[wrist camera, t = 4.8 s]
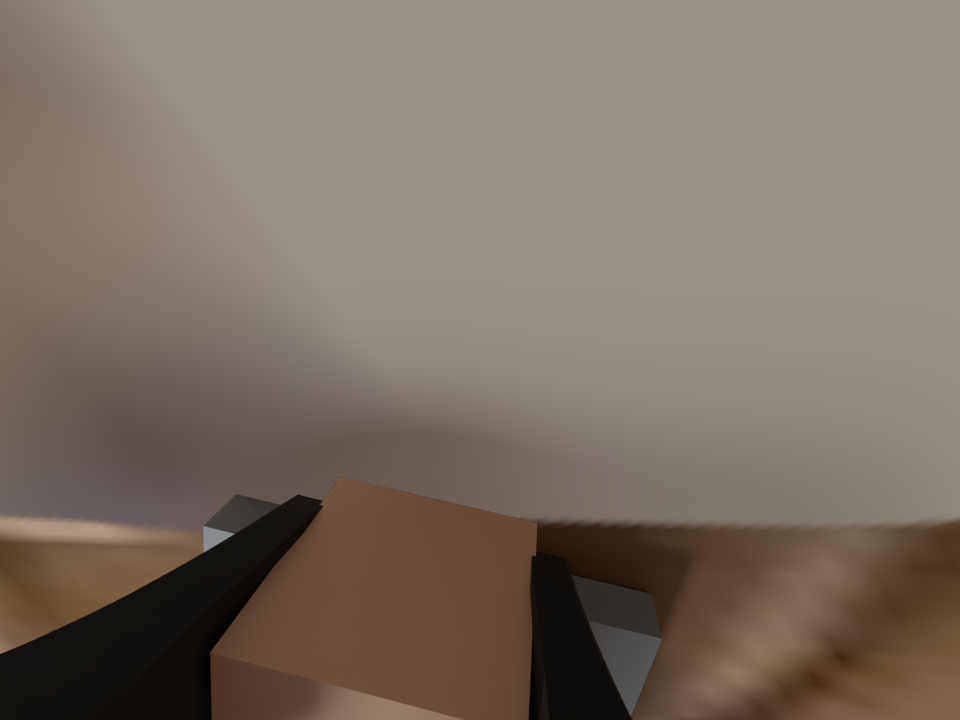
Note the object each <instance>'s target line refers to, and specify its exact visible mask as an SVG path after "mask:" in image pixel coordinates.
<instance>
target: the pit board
mask: <svg viewBox="0 0 960 720" xmlns="http://www.w3.org/2000/svg"><path fill="white" fill-rule="evenodd" d="M279 506H280V505H278V504H274V503H270V502H266V501H261V500H257V499H253V498H249V497H245V496H241V495H235V496H234V497H233V498H232V499H231V500H230V501H229V502H228V503H227V504H226V505H225V506H224V507H223V508H222V509H221V510H220V511H219V512H217V513H216V514H215V515H214V516H213V517H212V518H211V519H210V520H209V521H208V522H207V523H206V524H205V525H204V526H203V533H204V552H205V551H207V550H209V549H210V548H212V547H214V546H215V545H217V544H219V543H220V542H222V541H224V540H225V539H227V538H229V537H230V536H232V535H234V534H235V533H237V532H238V531H240V530H242V529H243V528H245V527H246V526H248V525H250V524H251V523H253V522H254V521H256V520H258V519H259V518H261V517H262V516H264V515H266V514H267V513H269V512H270V511H272V510H274V509H275V508H277V507H279ZM572 578H573V581H574V584H575V587H576V590H577V592H578V595H579V598H580V601H581V604H582V606H583V609H584V611H585V614H586V617H587V619H588V622H589V624H590V627H591V629H592V632H593V634H594V637H595V639H596V642H597V644H598V646H599V648H600V651H601V653H602V655H603V658H604V660H605V662H606V664H607V667H608V669H609V671H610V674H611V676H612V678H613V680H614V682H615V685H616V687H617V689H618V691H619V693H620V695H621V697H622V699H623V702H624V704H625V706H626V708H627V710H628V712H629V714H630V716H631V715H632V713H633V710H634V708H635V705H636V703H637V701H638V698H639V696H640V693H641V691H642V688H643V686H644V683H645V681H646V678H647V676H648V673H649V671H650V669H651V666H652V664H653V661H654V659H655V656H656V654H657V651H658V649H659V646H660V644H661V641H662V635H661V631H660V627H659V623H658V619H657V615H656V611H655V606H654V602H653V598H652V594H650V593H646V592H641V591H637V590H633V589H629V588H625V587H621V586H616V585H612V584H608V583H604V582H600V581H596V580H591V579H587V578H583V577H579V576H575V575H572Z"/></svg>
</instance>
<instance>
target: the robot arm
mask: <svg viewBox="0 0 960 720" xmlns="http://www.w3.org/2000/svg"><path fill="white" fill-rule="evenodd" d="M321 502H322V501H321V500H318V499H313V498H309V497H305V496H301V495H297V496H295V497H294V498H292V499H290V500H289V501H287V502H285V503H283V504H282V505H280V506H279V507H277V508H275V509H274V510H272V511H270V512H269V513H267V514H266V515H264V516H262V517H261V518H259V519H258V520H256V521H254V522H253V523H251V524H250V525H248V526H246V527H245V528H243V529H242V530H240V531H238V532H237V533H235V534H234V535H232V536H230V537H229V538H227V539H225V540H224V541H222V542H220V543H219V544H217V545H215V546H214V547H212V548H210V549H209V550H207V551H205V552H204V553H202V554H200V555H199V556H197V557H195V558H194V559H192V560H190V561H188V562H187V563H185V564H183V565H181V566H180V567H178V568H176V569H174V570H172V571H171V572H169V573H167V574H165V575H163V576H161V577H160V578H158V579H156V580H154V581H152V582H151V583H149V584H147V585H145V586H143V587H141V588H140V589H138V590H136V591H134V592H132V593H131V594H129V595H127V596H125V597H123V598H121V599H119V600H117V601H115V602H113V603H111V604H109V605H107V606H105V607H103V608H101V609H99V610H97V611H95V612H93V613H91V614H89V615H87V616H85V617H82V618H80V619H78V620H76V621H74V622H72V623H70V624H67V625H65V626H63V627H61V628H59V629H57V630H55V631H52V632H50V633H48V634H46V635H44V636H42V637H39V638H37V639H35V640H33V641H30V642H28V643H26V644H24V645H21V646H19V647H16V648H14V649H11V650H9V651H7V652H4V653H2V654H0V720H212V704H211V662H210V652H211V651H212V649H213V648H214V647H215V645H216V644H217V643H218V641H219V640H220V639H221V637H222V636H223V635H224V633H225V632H226V631H227V629H228V628H229V627H230V625H231V624H232V622H233V621H234V620H235V618H236V617H237V616H238V614H239V613H240V612H241V610H242V609H243V608H244V606H245V605H246V604H247V602H248V601H249V600H250V598H251V597H252V595H253V594H254V593H255V591H256V590H257V589H258V587H259V586H260V585H261V583H262V582H263V581H264V579H265V578H266V577H267V575H268V574H269V573H270V571H271V570H272V568H273V567H274V566H275V565H276V564H277V563H278V562H279V560H280V559H281V558H282V557H283V556H284V555H285V554H286V553H287V551H288V550H289V549H290V548H291V547H292V546H293V545H294V544H295V542H296V541H297V540H298V539H299V538H300V537H301V536H302V534H303V533H304V532H305V530H306V529H307V528H308V526H309V525H310V523H311V522H312V521H313V519H314V518H315V517H316V515H317V514H318V512H319V511H320V510H321V508H322V507H323V505H320V504H321ZM530 598H531V615H532V653H531V675H530V698H529V720H632V718H631V716H630V714H629V712H628V710H627V708H626V706H625V704H624V702H623V699H622V697H621V695H620V693H619V691H618V689H617V687H616V685H615V682H614V680H613V678H612V676H611V674H610V671H609V669H608V667H607V664H606V662H605V660H604V658H603V655H602V653H601V651H600V648H599V646H598V644H597V642H596V639H595V637H594V634H593V632H592V629H591V627H590V624H589V622H588V619H587V617H586V614H585V611H584V609H583V606H582V604H581V601H580V598H579V595H578V592H577V590H576V587H575V584H574V581H573V578H572V575H571V571H570V568H569V565H568V563H567V562H566V560H565V559H564V558H562V557H558V556H553V555H549V554H545V553H541V552H536V556H533V555H532V563H531V581H530Z"/></svg>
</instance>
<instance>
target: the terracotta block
mask: <svg viewBox="0 0 960 720" xmlns="http://www.w3.org/2000/svg"><path fill="white" fill-rule="evenodd" d="M320 505H323V507H322V508H321V510H320V511H319V512H318V514H317V515H316V517H315V518H314V519H313V521H312V522H311V523H310V525H309V526H308V528H307V529H306V530H305V532H304V533H303V534H302V536H301V537H300V538H299V539H298V540H297V541H296V542H295V544H294V545H293V546H292V547H291V548H290V549H289V550H288V551H287V553H286V554H285V555H284V556H283V557H282V558H281V559H280V560H279V562H278V563H277V564H276V565H275V566H274V567H273V568H272V570H271V571H270V573H269V574H268V575H267V577H266V578H265V579H264V581H263V582H262V583H261V585H260V586H259V587H258V589H257V590H256V591H255V593H254V594H253V595H252V597H251V598H250V600H249V601H248V602H247V604H246V605H245V606H244V608H243V609H242V610H241V612H240V613H239V614H238V616H237V617H236V618H235V620H234V621H233V622H232V624H231V625H230V627H229V628H228V629H227V631H226V632H225V633H224V635H223V636H222V637H221V639H220V640H219V641H218V643H217V644H216V645H215V647H214V648H213V649H212V651H211V652H210V662H211V704H212V720H529V698H530V675H531V653H532V615H531V598H530V581H531V563H532V555H533V556H536V542H537V523H535V522H531V521H527V520H523V519H518V518H514V517H510V516H505V515H501V514H497V513H492V512H488V511H484V510H480V509H475V508H471V507H466V506H462V505H458V504H454V503H450V502H445V501H441V500H437V499H432V498H428V497H424V496H419V495H415V494H411V493H407V492H402V491H398V490H394V489H390V488H385V487H381V486H377V485H372V484H368V483H364V482H360V481H355V480H351V479H346V478H342V477H340V478H339V479H338V481H337V482H336V484H335V485H334V486H333V487H332V489H331V490H330V492H329V493H328V495H327V496H326V497H325V498H324V500H323V501H322V502H321V504H320Z"/></svg>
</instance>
